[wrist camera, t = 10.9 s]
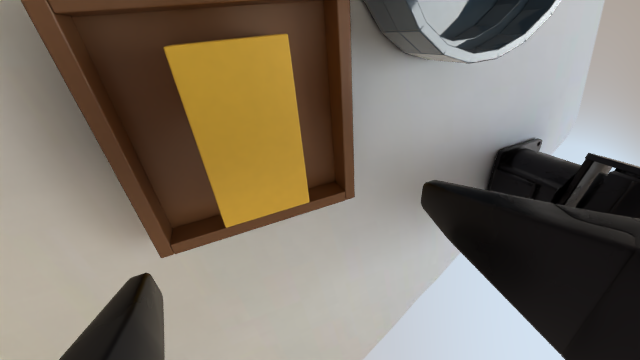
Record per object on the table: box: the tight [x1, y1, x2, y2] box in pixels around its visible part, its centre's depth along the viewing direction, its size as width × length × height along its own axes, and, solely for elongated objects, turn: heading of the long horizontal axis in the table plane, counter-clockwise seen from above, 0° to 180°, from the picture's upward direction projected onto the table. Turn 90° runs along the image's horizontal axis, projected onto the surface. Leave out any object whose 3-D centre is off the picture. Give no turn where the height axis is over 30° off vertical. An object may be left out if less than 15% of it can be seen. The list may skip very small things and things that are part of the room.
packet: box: [164, 34, 309, 228], centre depth 15 cm, size 5×9×4 cm, turn 4°
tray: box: [21, 0, 355, 258], centre depth 16 cm, size 14×14×2 cm
